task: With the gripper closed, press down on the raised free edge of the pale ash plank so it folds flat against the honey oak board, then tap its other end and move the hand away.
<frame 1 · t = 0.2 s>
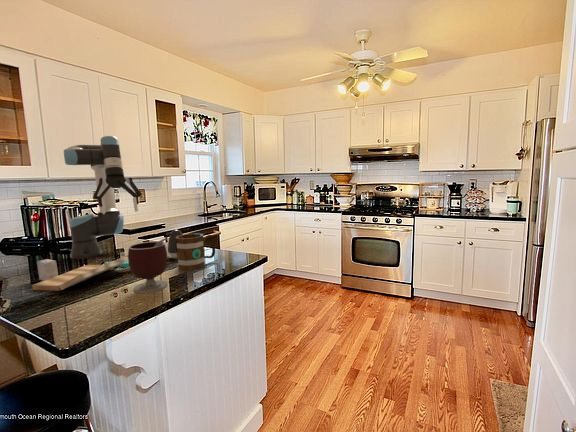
hand: (120, 212, 144), 28 cm above the counter, tool tilted 20°, fingers open, 13 cm apart
medicine box: (49, 280, 138), on the counter
mate gourd: (153, 287, 123), on the counter
alien figure: (135, 262, 164), on the counter
mug: (198, 265, 152), on the counter
ash plank: (98, 271, 135), point 4 cm above the counter, hinge at 25.0°
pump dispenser: (178, 257, 168), on the counter
oak board: (74, 278, 138), on the counter
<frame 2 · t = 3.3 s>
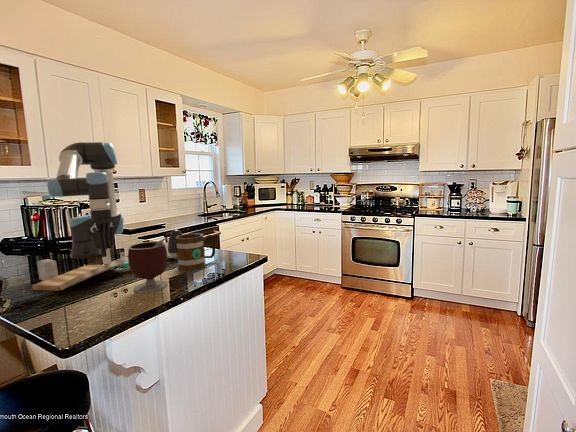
hand: (107, 263, 134), 7 cm above the counter, tool pointing down, fingers closed
ash plank: (98, 271, 135), point 4 cm above the counter, hinge at 24.4°, touching gripper
everything else where it was.
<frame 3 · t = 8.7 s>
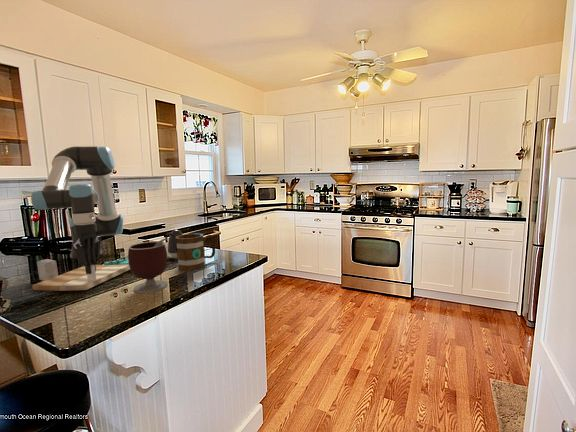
hand: (92, 280, 126), 3 cm above the counter, tool pointing down, fingers closed
ash plank: (99, 276, 136), point 1 cm above the counter, hinge at 2.7°, touching gripper
everything else where it was.
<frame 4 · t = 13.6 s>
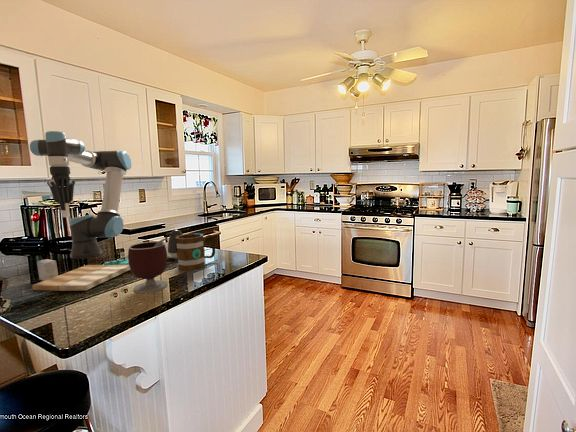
hand: (66, 216, 146), 26 cm above the counter, tool pointing down, fingers closed
ash plank: (99, 276, 136), point 1 cm above the counter, hinge at 1.9°
everything else where it was.
at the end: ash plank at +2° (first picture: +25°); medicine box moved 0.3 cm from its start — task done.
